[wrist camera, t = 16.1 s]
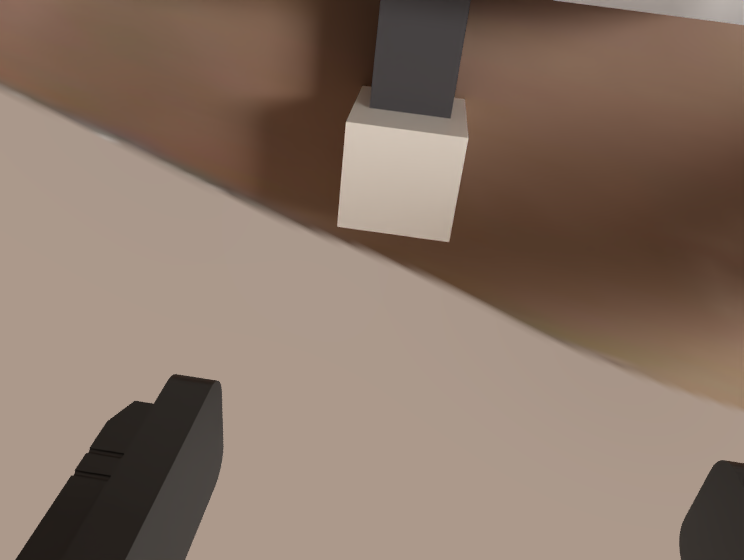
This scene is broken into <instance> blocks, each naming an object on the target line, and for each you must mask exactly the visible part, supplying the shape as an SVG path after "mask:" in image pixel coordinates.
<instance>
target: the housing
mask: <svg viewBox="0 0 744 560" xmlns="http://www.w3.org/2000/svg"><path fill="white" fill-rule="evenodd" d="M555 1H562V2H570V3H578V4H586V5H593V6H601V7H609V8H616V9H624V10H632V11H640V12H647V13H655V14H663V15H670V16H678V17H686V18H694V19H701V20H709V21H717V22H724V23H732V24H740V25H744V0H555Z"/></svg>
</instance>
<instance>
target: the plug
mask: <svg viewBox="0 0 744 560" xmlns="http://www.w3.org/2000/svg"><path fill="white" fill-rule="evenodd" d="M470 1H471V0H380V10H379V20H378V29H377V39H376V49H375V59H374V68H373V78H372V87H369V86H362V88H361V90H360V92H359V94H358V96H357V99H356V101H355V103H354V105H353V107H352V110H351V112H350V114H349V116H348V119H347V121H346V128H345V140H344V152H343V163H342V175H341V187H340V199H339V211H338V223H337V227H343V228H350V229H358V230H365V231H372V232H379V233H386V234H394V235H401V236H408V237H415V238H423V239H430V240H437V241H444V242H449V240H450V234H451V229H452V224H453V218H454V213H455V208H456V202H457V197H458V192H459V186H460V181H461V176H462V170H463V165H464V160H465V154H466V149H467V144H468V127H467V116H466V105H465V99H461V98H454V96H455V90H456V84H457V78H458V72H459V66H460V60H461V55H462V49H463V43H464V37H465V31H466V25H467V19H468V13H469V7H470Z"/></svg>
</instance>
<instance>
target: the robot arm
mask: <svg viewBox="0 0 744 560" xmlns="http://www.w3.org/2000/svg"><path fill="white" fill-rule="evenodd" d="M222 456H223V419H222V389H221V384H220V382H219V381H216V380H209V379H203V378H196V377H190V376H183V375H177V374H175V375H172V376H171V377H170V378H169V380H168V381H167V383H166V384H165V386H164V388H163V389H162V391H161V393H160V394H159V396H158V398H157V400H156V401H155V403H154V404H152V403H145V402H139V401H134V402H133V403H131V404H130V405H129V406H127V407H126V408H125V409H123V410H122V411H121V412H119V413H118V414H117V415H115V416H114V417H113V418H111V419H110V420H108V421H107V423H106V424H105V426H104V427H103V429H102V430H101V432H100V433H99V435H98V436H97V438H96V439H95V441H94V442H93V444H92V445H91V447H90V450H89V453H86V454H85V456H84V457H83V459H82V460H81V462H80V463H79V465H78V466H77V468H76V469H75V474H74V476H71V477H70V478H69V480H68V481H67V483H66V484H65V486H64V487H63V489H62V490H61V492H60V493H59V495H58V496H57V498H56V499H55V501H54V502H53V504H52V505H51V507H50V508H49V510H48V512H47V513H46V514H45V516H44V517H43V519H42V520H41V522H40V524H39V525H38V527H37V528H36V530H35V531H34V533H33V534H32V536H31V537H30V539H29V540H28V542H27V543H26V545H25V546H24V548H23V549H22V551H21V552H20V554H19V555H18V557H17V558H16V560H185V558H186V556H187V553H188V551H189V549H190V546H191V544H192V541H193V539H194V536H195V534H196V531H197V529H198V526H199V524H200V522H201V519H202V517H203V514H204V512H205V510H206V507H207V505H208V502H209V500H210V497H211V495H212V492H213V490H214V487H215V485H216V482H217V479H218V475H219V472H220V468H221V463H222ZM679 546H680V556H681V560H744V463H737V462H731V461H724V460H721V461H718V462H717V463H716V464H715V465H714V466H713V467H712V469H711V471H710V472H709V474H708V476H707V478H706V480H705V482H704V484H703V485H702V487H701V489H700V491H699V493H698V495H697V497H696V498H695V500H694V502H693V504H692V506H691V508H690V510H689V511H688V513H687V515H686V517H685V519H684V521H683V523H682V526H681V531H680V541H679Z"/></svg>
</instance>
